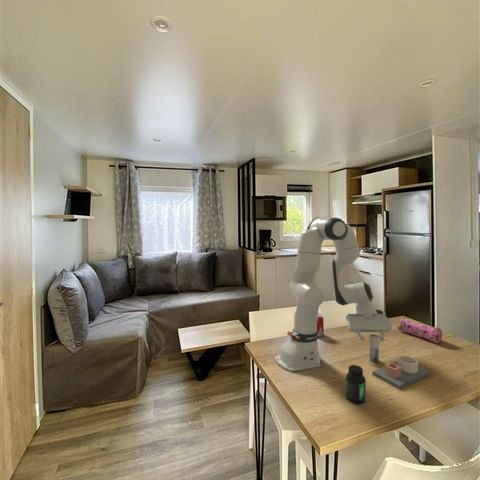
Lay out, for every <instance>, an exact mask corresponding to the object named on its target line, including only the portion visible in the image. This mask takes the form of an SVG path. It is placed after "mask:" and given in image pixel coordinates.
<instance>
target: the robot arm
mask: <svg viewBox="0 0 480 480" xmlns="http://www.w3.org/2000/svg"><path fill="white" fill-rule="evenodd" d="M325 240H327V241H328V240H329V241H332V242H333V243H334V248H335V257H333V259H332V261H331V262H332V263H331V264H332V265H331V266H332V278H333V279H332V280H333V287H334V288H333V298H334V300H335V302H336V303H337V304H338V305H340V306H346V305H350V304H353V305H354V306H355V313H348V314H346V316H345V319H346V320H345V321H346V322H347V330H348V331H349V332H351V333H356V335H357V336H358V337H359V339H360V341H365V335H363V334H362V333H380V335H381V336H380V337H379V340H380V342H385V341H386V339H385V335H386V334H389V333H391V330H393V329H392V324H391V322H390V320H389V318H388V317H387V316H386V312H385V310H381V309H378V308H376V307H374V305H373V304H372V301H373V298H374V296H373V295H374V294H373V293H372V289H371V285H370V284H368V283H366V282H364V281H363V282H356V283H351V284H346V285H343V284H342V271H343V270H344V269H346V268H347V267H348V266H350V265H352V264H353V263H355V262H356V261H357V260H358V258H359V256H360V254H361V253H360V252H361V251H360V246H359V241H358V239H357V236H356V234H355V232H354V229H353V228H352V226H351V225H349V224H346V222H345V221H344V220H343V219H342V218H339V217H331V216H330V217H329V216H322V217H315V218H314V219H312V220H311V221H310V222H309V224H308V226H307V228H306V229H305V230H303V231H302V232H301V234H300V237H299V240H298V246H297V253H296V264H295V268H294V272H293V274H292V275H293V276H292V280H291V281H290V282H289V285H288V286H289V292H290V293H291V295H292V296H293V298H294V299H296V302H297V304H296V308H295V311H294V314H293V329H292V331H290V330H288V331H287V333H286V334H287V335H288V336H290V338H289V339H288V340H287V341H286V342H285V343H284V344H283V345H282V346H281V347H280V350H279V354H278V355H277V356H274V361H275V362H276V363H277V364H278V366H279V367H281V368H282V369H284V370H286V371H289V372H296V371H297V372H299V371H303V370H308V369H314V368H318V367H321V363H320V362H321V356H320V351H319V346H318V345H319V344H318V339H319V337H318V331H317V314H319V309H320V306H321V305H322V303H323V302H324V300H325V294H324V292H323V290H322V289H321V287H320V286H319V285H317V284H316V283H314V280H315V277H316V275H317V273H318V272H319V270H320V267H321V265H320V264H321V254H322V244H323V242H324V241H325Z"/></svg>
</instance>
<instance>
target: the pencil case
mask: <svg viewBox="0 0 480 480" xmlns="http://www.w3.org/2000/svg"><path fill="white" fill-rule="evenodd" d="M397 328H398V330H399V331H400V332H402V333H406V334H409V335H412V336H417V337H419V338H423V339H425V340H427V341H430V342H433V343H435V344H439V343H441V341H442V338H443V330H442V329H441V328H439V327H438V326H437V327H436V326H435V327H434V326H430V325H427V324H425V323H419V322H414V321H411V320H410V319H408V318H406V317H405V316H404V317H401V318H400V321H399V325H398V326H397Z"/></svg>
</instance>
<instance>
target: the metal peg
mask: <svg viewBox="0 0 480 480" xmlns="http://www.w3.org/2000/svg"><path fill="white" fill-rule="evenodd" d="M379 355H380V337H379V335H376V334H370V335H369V357H368V358H369V361H370V362H371V363H377V364H378V363H379V361H380V357H379Z"/></svg>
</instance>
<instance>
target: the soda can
mask: <svg viewBox="0 0 480 480" xmlns="http://www.w3.org/2000/svg"><path fill="white" fill-rule="evenodd" d="M324 321H325V319H324V317H323V315H322V314H321V313H318V314H317V331H318V338H319V337H323V336H324V332H325V330H324V327H325V325H324V323H325V322H324Z"/></svg>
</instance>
